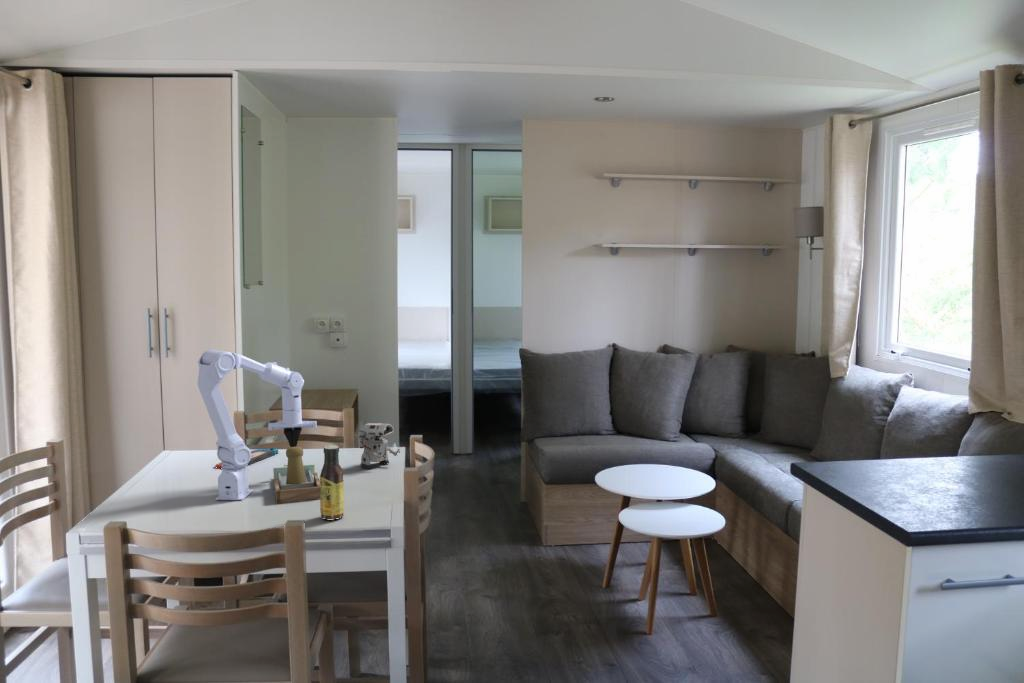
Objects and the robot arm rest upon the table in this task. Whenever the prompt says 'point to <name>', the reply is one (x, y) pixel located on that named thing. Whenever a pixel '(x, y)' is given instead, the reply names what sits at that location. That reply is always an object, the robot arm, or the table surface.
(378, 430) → the figurine
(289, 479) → the cork
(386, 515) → the table surface
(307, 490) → the caddy
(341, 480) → the sauce bottle
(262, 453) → the gaming console
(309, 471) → the drawer
